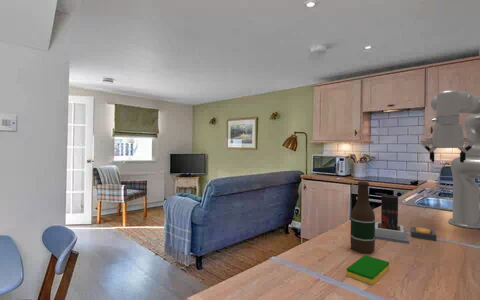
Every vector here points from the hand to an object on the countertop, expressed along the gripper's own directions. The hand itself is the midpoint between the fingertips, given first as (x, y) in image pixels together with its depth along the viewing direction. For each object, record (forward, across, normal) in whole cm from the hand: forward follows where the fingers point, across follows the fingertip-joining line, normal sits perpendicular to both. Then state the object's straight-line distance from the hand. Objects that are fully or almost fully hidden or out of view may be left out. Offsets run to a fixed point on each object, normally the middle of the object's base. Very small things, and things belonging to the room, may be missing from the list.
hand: (446, 162), depth 111 cm
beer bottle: (+30, -29, -38) cm, 56 cm away
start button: (+29, -9, -9) cm, 32 cm away
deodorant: (+29, -21, -15) cm, 39 cm away
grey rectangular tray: (+30, -21, -16) cm, 39 cm away
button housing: (+30, -9, -10) cm, 33 cm away
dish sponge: (+30, -26, -55) cm, 67 cm away
